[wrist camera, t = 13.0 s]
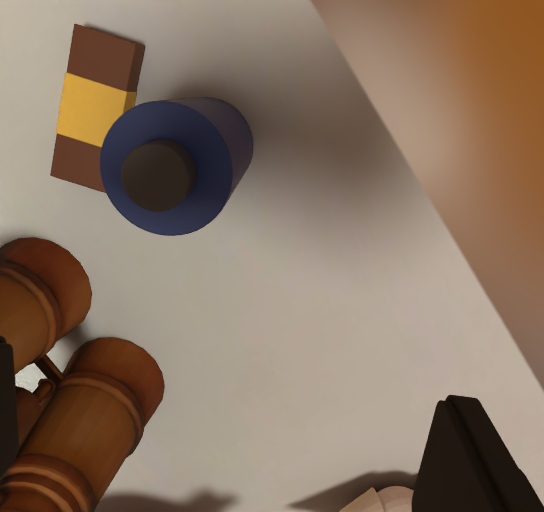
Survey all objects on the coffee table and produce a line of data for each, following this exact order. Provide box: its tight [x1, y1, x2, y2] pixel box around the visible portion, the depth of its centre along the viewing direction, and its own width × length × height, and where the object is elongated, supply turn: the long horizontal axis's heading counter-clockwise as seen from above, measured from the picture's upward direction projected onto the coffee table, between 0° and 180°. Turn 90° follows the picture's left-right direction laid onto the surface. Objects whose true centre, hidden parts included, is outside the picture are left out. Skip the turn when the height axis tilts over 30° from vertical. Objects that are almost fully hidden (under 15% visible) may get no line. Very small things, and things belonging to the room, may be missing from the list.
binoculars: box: [0, 238, 165, 512], centre depth 30 cm, size 18×8×20 cm, turn 32°
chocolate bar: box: [50, 24, 145, 193], centre depth 33 cm, size 10×4×2 cm, turn 163°
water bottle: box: [100, 98, 253, 236], centre depth 28 cm, size 6×6×14 cm
